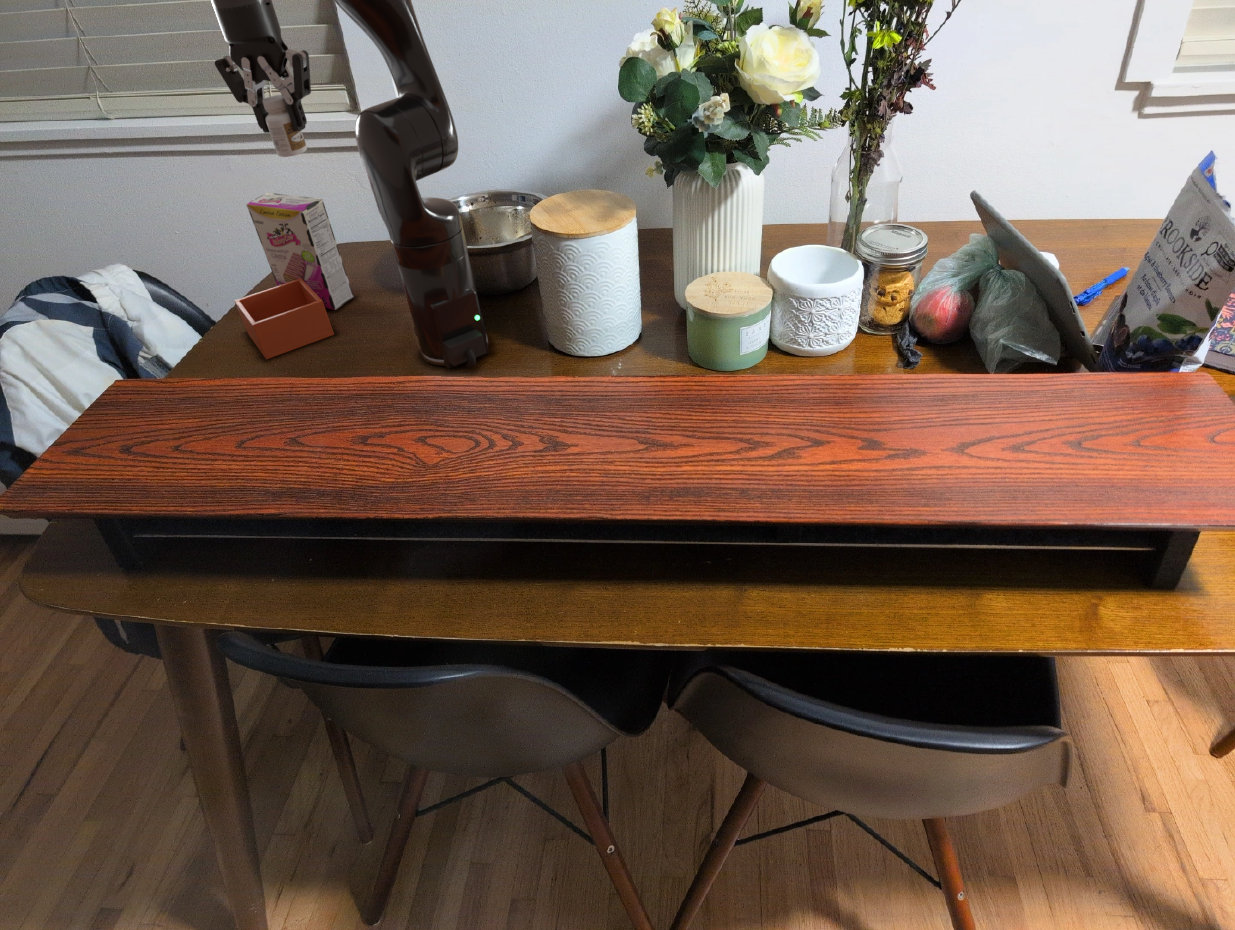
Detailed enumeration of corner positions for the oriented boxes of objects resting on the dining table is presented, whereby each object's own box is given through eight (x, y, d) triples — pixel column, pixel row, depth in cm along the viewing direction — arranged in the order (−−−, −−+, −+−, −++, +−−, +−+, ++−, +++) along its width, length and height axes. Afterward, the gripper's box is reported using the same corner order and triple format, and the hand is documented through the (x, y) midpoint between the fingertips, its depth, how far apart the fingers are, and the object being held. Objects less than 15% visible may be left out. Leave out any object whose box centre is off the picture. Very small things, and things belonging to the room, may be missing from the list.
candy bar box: (281, 303, 136) (243, 203, 125) (302, 289, 139) (267, 191, 129) (335, 312, 131) (300, 209, 121) (355, 297, 135) (323, 196, 125)
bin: (334, 334, 125) (322, 300, 122) (266, 359, 122) (252, 325, 118) (312, 310, 132) (301, 277, 129) (247, 333, 128) (233, 300, 125)
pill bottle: (301, 156, 124) (283, 100, 120) (273, 158, 125) (253, 103, 120) (311, 146, 128) (294, 92, 123) (283, 149, 128) (265, 95, 123)
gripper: (179, 9, 113) (228, 141, 123) (274, 0, 109) (316, 136, 120) (211, -2, 118) (256, 124, 129) (302, -11, 115) (340, 120, 125)
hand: (285, 129), depth 124 cm, fingers closed on pill bottle, 4 cm apart
